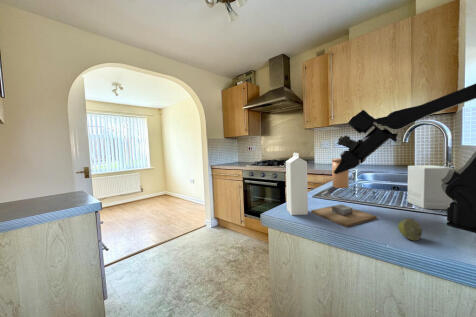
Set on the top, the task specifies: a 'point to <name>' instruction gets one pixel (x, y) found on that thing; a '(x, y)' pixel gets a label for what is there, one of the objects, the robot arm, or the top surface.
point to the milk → (296, 185)
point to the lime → (410, 229)
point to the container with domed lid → (339, 176)
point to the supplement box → (427, 187)
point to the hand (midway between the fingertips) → (336, 172)
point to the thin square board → (343, 215)
